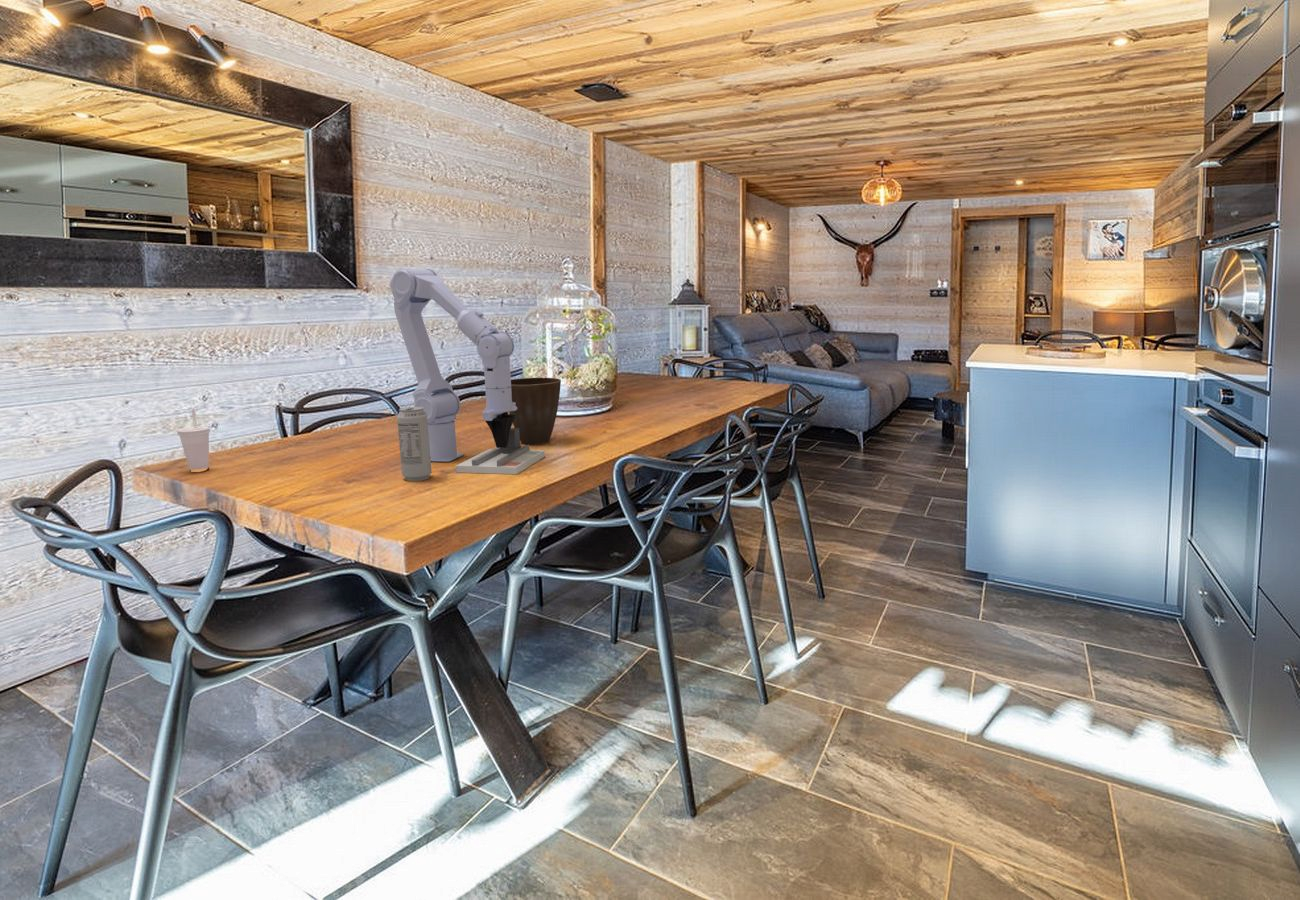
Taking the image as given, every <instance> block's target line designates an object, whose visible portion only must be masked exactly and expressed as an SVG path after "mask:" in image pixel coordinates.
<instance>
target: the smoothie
mask: <svg viewBox="0 0 1300 900" xmlns="http://www.w3.org/2000/svg"><path fill="white" fill-rule="evenodd" d="M191 414H192V421H193V426H192V427H189V426H188V427H183V428H179V429H177V431H176V432H177V436H179V439H180V443H181V446H182V448H183V452H184V455H185V459H186V462H187V466H188V469H202V468H207V467H209V468H210V437H209V436H210V432H211V430H210V427H209V426H198V425H197V424H198V423H197V418H196V417H197V416H196V410H195V409H191Z"/></svg>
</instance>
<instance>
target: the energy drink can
mask: <svg viewBox="0 0 1300 900" xmlns="http://www.w3.org/2000/svg"><path fill="white" fill-rule="evenodd" d="M398 411H399V412H398V415H397V416H396V421H397V431H398V432H397V433H398V434H397V435H398V441H399V443H398V444H399V452H400V453H399V454H400V465H401V475H402V477H404V479H405V481H408V482H418V481H419V482H420V481H425V480H427V479H430V476H431V474H432V461H431V458H430V446H429V433H428V421H427V415H426V413H425V412H424V410H423V407H415V406H406V407H401V408H399V409H398Z"/></svg>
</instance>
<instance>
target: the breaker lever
mask: <svg viewBox="0 0 1300 900" xmlns="http://www.w3.org/2000/svg"><path fill="white" fill-rule="evenodd" d="M521 447H522V445H521V442H520V434H519V428H514V427H511V429H510V434H509V440H508V445H507V447H505V448H503V454H510V453H512V452H514V451H516V450H518V449H520V448H521Z"/></svg>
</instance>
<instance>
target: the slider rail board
mask: <svg viewBox="0 0 1300 900" xmlns="http://www.w3.org/2000/svg"><path fill="white" fill-rule="evenodd" d="M545 454H546V451H545V450H542V449H539V450H538V449H530V445H527V444H524V445H523V446H521V448H520V449H518V450H516V451H514V452H512V453H510V454H503V448H497V447H495V448H488V449H486V450H484V451H482V452H481V453H479V454H477V455H474V456H473V457H470V458H468V459H466V460H464V461H463V462H461V463H459V464H456V465H455V473H460V474H463V473H464V474H465V473H466V474H493V475H494V474H495V475H496V474H497V475H518V474H519V473H521V472H523V471H524V470H525V469H528V468H529V467H530V466H533V465H534V464H536V463H537V462H538V461H540V460H542V459H543V458H545V457H546V455H545Z"/></svg>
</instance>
